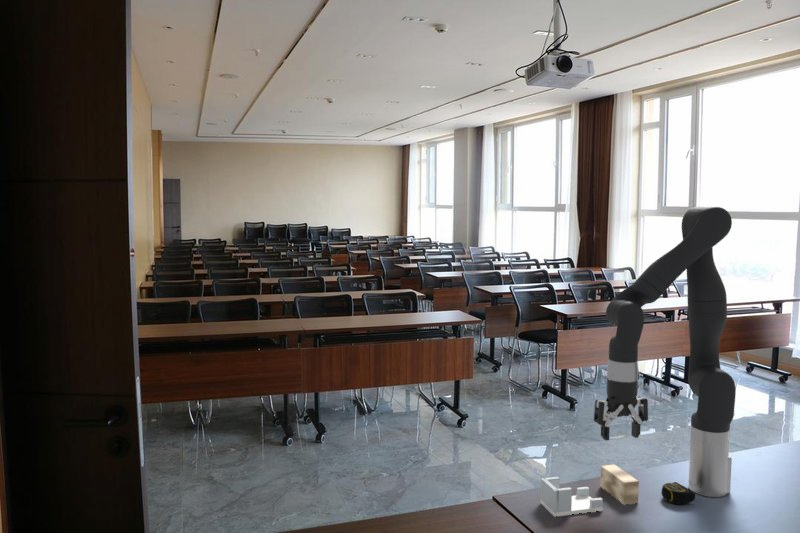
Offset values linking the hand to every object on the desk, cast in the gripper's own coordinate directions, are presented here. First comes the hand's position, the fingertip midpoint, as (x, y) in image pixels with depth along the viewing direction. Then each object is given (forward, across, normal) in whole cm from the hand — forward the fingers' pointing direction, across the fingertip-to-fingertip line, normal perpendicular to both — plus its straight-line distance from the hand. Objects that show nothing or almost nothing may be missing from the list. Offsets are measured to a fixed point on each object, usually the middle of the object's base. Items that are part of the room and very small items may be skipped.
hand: (620, 438), depth 165 cm
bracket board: (+15, +15, +4) cm, 22 cm away
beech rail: (+15, 0, 0) cm, 15 cm away
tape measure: (+15, -13, +6) cm, 21 cm away
